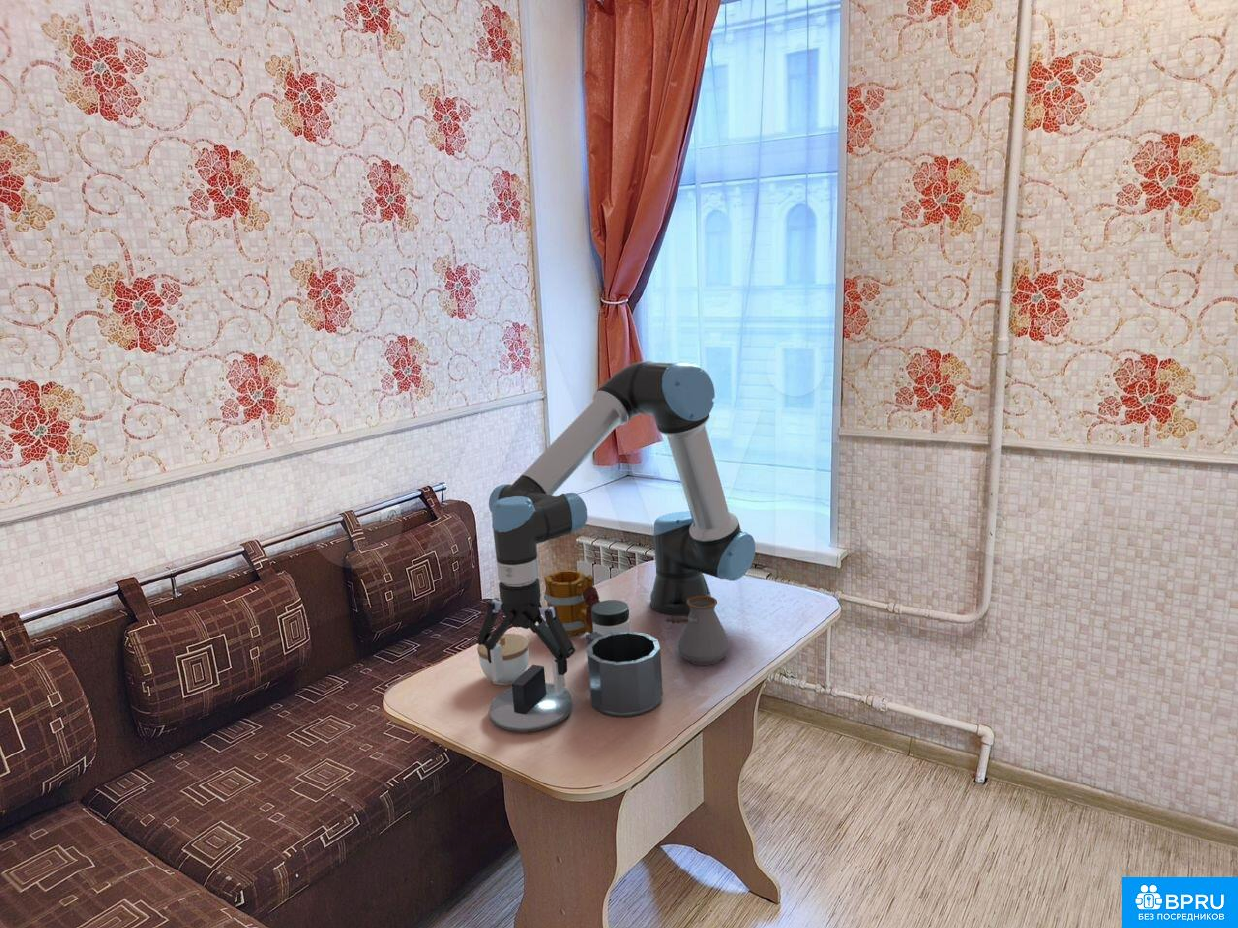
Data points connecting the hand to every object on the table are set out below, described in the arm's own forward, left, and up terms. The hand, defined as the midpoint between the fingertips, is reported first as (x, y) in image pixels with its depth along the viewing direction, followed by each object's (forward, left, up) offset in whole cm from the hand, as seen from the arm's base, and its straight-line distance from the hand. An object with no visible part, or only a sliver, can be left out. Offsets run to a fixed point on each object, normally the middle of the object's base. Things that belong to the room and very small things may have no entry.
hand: (528, 683), depth 159 cm
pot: (-17, +6, -6) cm, 19 cm away
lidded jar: (-3, -16, -7) cm, 18 cm away
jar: (-25, -8, -7) cm, 27 cm away
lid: (0, 0, -6) cm, 6 cm away
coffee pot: (-36, +7, -7) cm, 37 cm away
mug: (-27, -26, -7) cm, 38 cm away
